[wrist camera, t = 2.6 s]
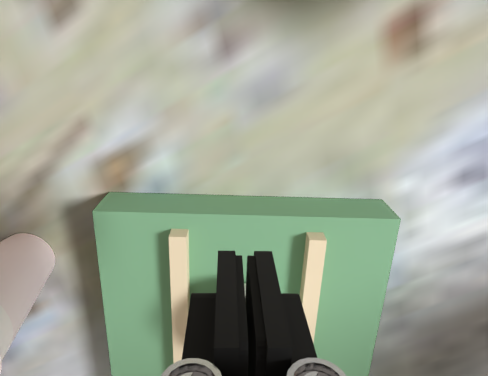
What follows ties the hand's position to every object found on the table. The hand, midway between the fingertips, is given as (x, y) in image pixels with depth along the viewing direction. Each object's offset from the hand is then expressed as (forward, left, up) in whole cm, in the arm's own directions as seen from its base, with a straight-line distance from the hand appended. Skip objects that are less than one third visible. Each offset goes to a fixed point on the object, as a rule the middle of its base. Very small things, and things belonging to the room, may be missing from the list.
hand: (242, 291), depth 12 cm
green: (-1, +18, -13) cm, 22 cm away
